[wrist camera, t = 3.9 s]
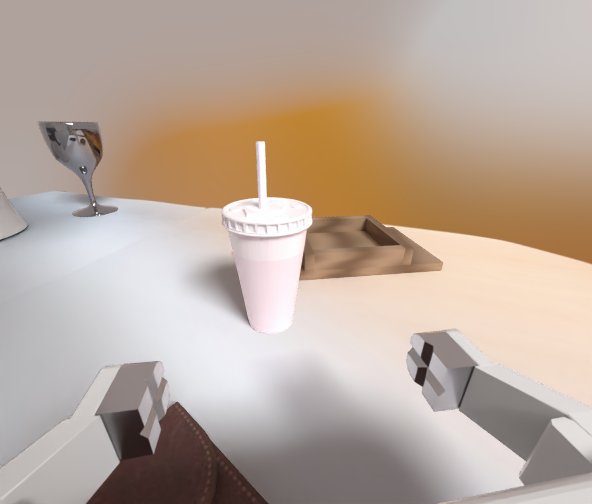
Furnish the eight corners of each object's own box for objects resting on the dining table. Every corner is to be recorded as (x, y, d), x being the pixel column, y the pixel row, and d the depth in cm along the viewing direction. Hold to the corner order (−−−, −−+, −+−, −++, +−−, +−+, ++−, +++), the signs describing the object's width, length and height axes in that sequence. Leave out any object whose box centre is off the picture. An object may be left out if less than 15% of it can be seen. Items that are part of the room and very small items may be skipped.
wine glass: (128, 205, 55) (107, 122, 49) (106, 217, 48) (79, 122, 42) (86, 205, 55) (60, 122, 48) (58, 217, 47) (23, 121, 41)
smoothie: (215, 328, 22) (189, 141, 16) (261, 290, 27) (253, 138, 21) (284, 358, 19) (283, 146, 14) (320, 309, 25) (330, 141, 19)
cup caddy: (266, 282, 29) (265, 256, 27) (261, 239, 39) (261, 219, 38) (441, 270, 32) (447, 246, 30) (392, 233, 42) (395, 214, 41)
